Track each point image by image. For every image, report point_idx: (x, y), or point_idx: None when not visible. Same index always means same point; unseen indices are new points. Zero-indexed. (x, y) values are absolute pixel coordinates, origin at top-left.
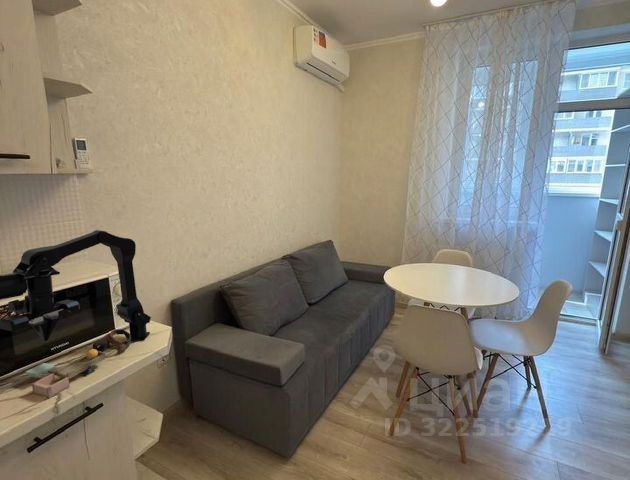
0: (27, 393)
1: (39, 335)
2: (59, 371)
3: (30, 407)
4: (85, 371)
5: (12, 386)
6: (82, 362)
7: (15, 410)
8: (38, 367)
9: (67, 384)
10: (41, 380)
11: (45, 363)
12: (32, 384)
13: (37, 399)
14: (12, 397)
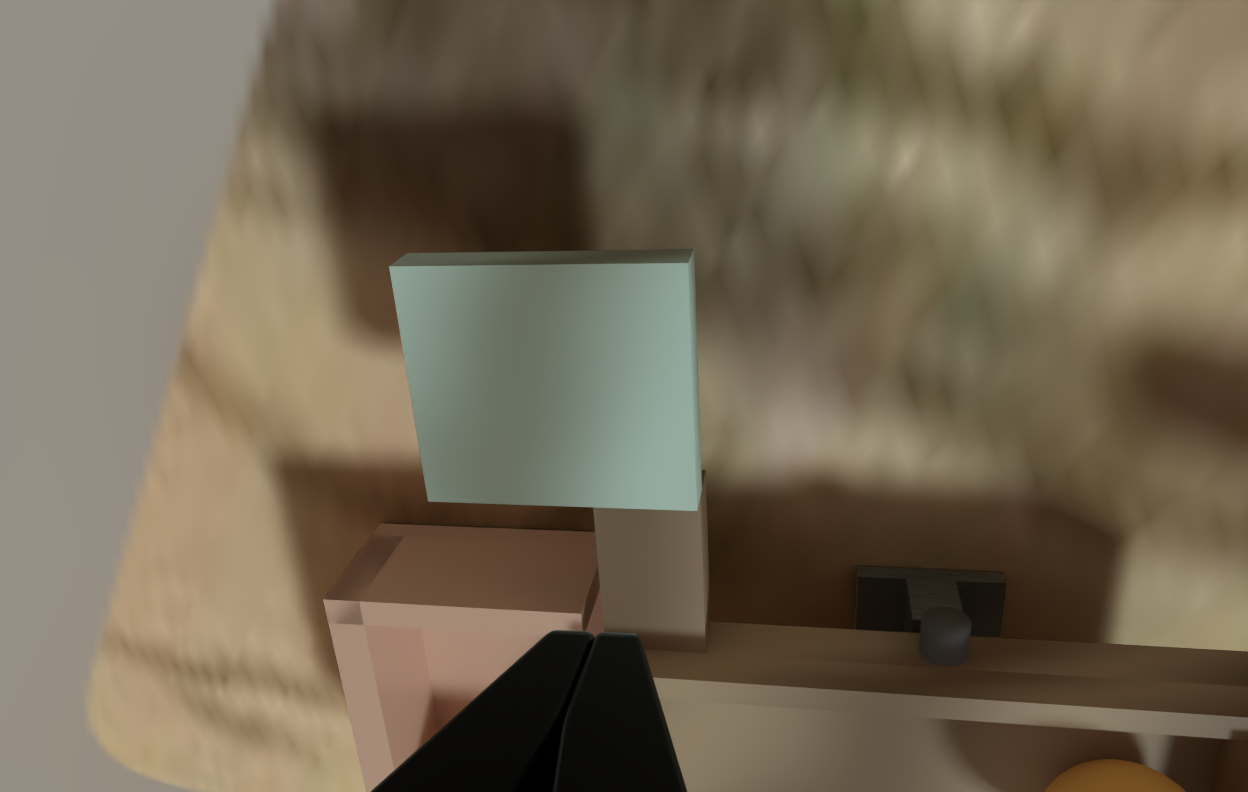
0: (351, 459)
1: (414, 782)
2: None
3: (270, 697)
4: None
5: (319, 116)
6: (945, 746)
7: (180, 621)
8: (551, 327)
9: None
10: (420, 627)
11: (683, 304)
12: (326, 604)
13: None
14: (233, 382)
